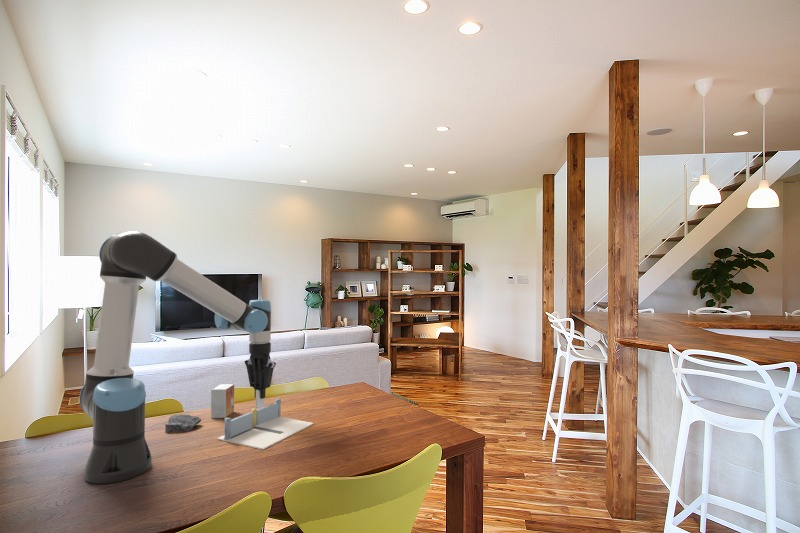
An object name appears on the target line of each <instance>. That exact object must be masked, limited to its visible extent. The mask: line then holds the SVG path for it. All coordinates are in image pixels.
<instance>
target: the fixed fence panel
mask: <svg viewBox="0 0 800 533" xmlns="http://www.w3.org/2000/svg"><path fill="white" fill-rule="evenodd" d="M251 428H252V412H247V413H245V414H241V415H239V416H236V417H234V418H231V417H226V418H224V435H225V438H224V439H225V440H229V439H230V438H231V437H232V436H235V435H237V434H239V433H241V432H244V431H246V430H248V429H251Z"/></svg>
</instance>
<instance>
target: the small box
mask: <svg viewBox="0 0 800 533" xmlns="http://www.w3.org/2000/svg"><path fill="white" fill-rule="evenodd" d="M210 393H211V395H210V419H225V418H228V417H229V416H230V415H231V414H233V413H234V412H235V384H233V383H232V384H231V383H229V384H226V383H223V384H221V383H220V384H218V385H217V386H216V387H214V388H212V389H211V390H210Z"/></svg>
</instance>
